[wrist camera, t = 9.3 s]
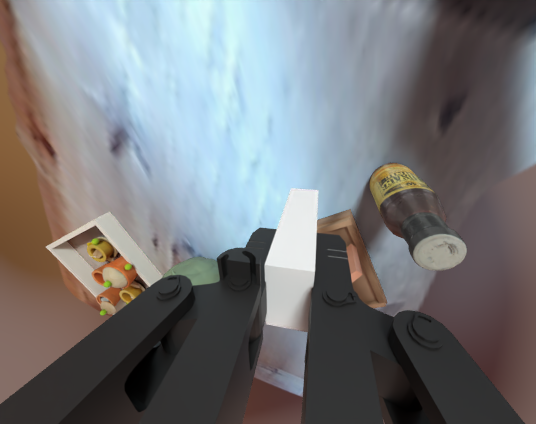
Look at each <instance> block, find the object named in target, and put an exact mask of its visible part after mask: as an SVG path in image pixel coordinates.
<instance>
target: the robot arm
mask: <svg viewBox="0 0 536 424" xmlns="http://www.w3.org/2000/svg"><path fill="white" fill-rule="evenodd" d="M317 211H318V190H310V189H294V188H291V190H290V193H289V196H288V199H287V202H286V205H285V207H284V210H283V213H282V216H281V219H280V222H279V225H278V228H277V229H268V228H259V229H257V230H256V231H255V232H253V233H252V235H251V237H250V239H249V242H248V243H247V245H246V247H245V248H234V249H230V250H227V251H225V252H223V253H222V254H221V255H220V256H219V257H218V258H217V264H218V270H219V277H220V280H219V281H218V282H216V283H211V284H203V285H193V286H192V283H191V280H190V279H189V278H188V277H186V276H183V275H170V276H167V277H164V278H162V279H160V280H158V281H157V282H155V283H154V284H152V285H151V286H150V287H148V288H147V289H146V290H145V291H143V292H142V293H141V294H140V295H138V296H137V297H136V298H134V299H133V300H132V301H131V302H129V303H128V304H127V305H126V306H124V307H123V308H122V309H121V310H119V311H118V312H117V313H115V314H114V315H113V316H112V317H110V318H109V319H108V320H107V321H105V322H104V323H103V324H102V325H100V326H99V327H98V328H96V329H95V330H94V331H93V332H91V333H90V334H89V335H88V336H86V337H85V338H84V339H83V340H81V341H80V342H79V343H77V344H76V345H75V346H74V347H72V348H71V349H70V350H69V351H67V352H66V353H65V354H63V355H62V356H61V357H60V358H58V359H57V360H56V361H55V362H53V363H52V364H51V365H50V366H48V367H47V368H46V369H44V370H43V371H42V372H41V373H39V374H38V375H37V376H36V377H34V378H33V379H32V380H30V381H29V382H28V383H27V384H25V385H24V386H23V387H22V388H20V389H19V390H18V391H17V392H15V393H14V394H13V395H11V396H10V397H9V398H8V399H6V400H5V401H4V402H3V403H1V404H0V424H242V422H243V418H244V414H245V410H246V405H247V401H248V398H249V393H250V390H251V385H252V381H253V377H254V373H255V369H256V365H257V361H258V357H259V353H260V349H261V345H262V340H263V326H264V322H265V318H266V324H268V325H273V326H278V327H283V328H288V329H294V330H299V331H304V332H308V333H307V345H306V354H305V372H304V387H303V402H302V417H301V424H384V423H383V420H384V422H385V424H525V423H524V422H523V421H522V420H521V418H520V417H519V416H518V414H517V413H516V412H515V411H514V409H513V408H512V407H511V406H510V405H509V403H508V402H507V401H506V400H505V398H504V397H503V396H502V395H501V393H500V392H499V391H498V390H497V389H496V387H495V386H494V385H493V384H492V382H491V381H490V380H489V379H488V377H487V376H486V375H485V374H484V373H483V371H482V370H481V369H480V368H479V366H478V365H477V364H476V363H475V362H474V360H473V359H472V358H471V356H470V355H469V354H468V353H467V352H466V350H465V349H464V348H463V347H462V345H461V344H460V343H459V342H458V340H457V339H456V338H455V337H454V336H453V334H452V333H451V332H450V331H449V330H448V329H447V328H445V326H444V325H443V324H442V323H440V322H438V321H437V320H435V319H434V318H432V317H431V316H428V315H426V314H423V313H421V312H417V311H409V310H407V311H402V312H399V313H398V314H397V315H396V316H395V317H392V316H389V315H387V314H384V313H382V312H380V311H377V310H375V309H373V308H371V307H369V306H368V305H367V304H365V303H364V302H363V301H362V300H361V299H360V298H359V296H358V294H357V293H356V292H355V291H354V289H353V285H352V279H351V273H350V267H349V261H348V255H347V249H346V243H345V241H344V240H343V239H342V238H341V237H340V235H333V234H324V233H317Z"/></svg>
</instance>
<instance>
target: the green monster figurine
mask: <svg viewBox="0 0 536 424" xmlns="http://www.w3.org/2000/svg"><path fill="white" fill-rule="evenodd" d="M170 275H183V276H186V277H188V278H189V279H190V280H191V283H192V286H193V285H203V284H211V283H216V282H218V281H219V280H220V277H219V270H218V264H217V261H215V260H213V259H208V258H205V257H194V258H190V259H188V260H186V261H184V262H181V263H179V264H177V265H175V266H174V267H172V268H171V269H170V270H168V271H167V272H166V273H165V274H164V276H163V277H162V278H164V277H167V276H170ZM162 278H161V279H162Z"/></svg>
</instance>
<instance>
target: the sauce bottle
mask: <svg viewBox="0 0 536 424" xmlns="http://www.w3.org/2000/svg"><path fill="white" fill-rule="evenodd" d="M370 190H371V193H372V195H373V197H374V200H375V202H376V204H377V207H378V209H379V212H380V214H381V216H382V218H383V219H384V222H385V224H386V226H387V227H388V229H389V230H390V231H391V232H392V233H393V234H394V235H396V236H398V237H401V238H404V239H405V241H407V243H408V245H409V252H410V255H411V256H412V258H413V259H414V261H415V262H416V263H417V264H418V265H419V266H421V267H422V268H425V269H428V270H447V269H450V268H453V267H454V266H456V265H457V264H459V263H461V262H462V261H463V259H464V258H465V256H466V253H467V247H466V244H465V242H464V241H463V240H462V238H461V237H460V236H459V235H458V234H457V233H456V232H455V231H454V230H452V229H449V227H448V226H447V225H446V224H445V221H446V215H445V213H444V210H443V208H442V206H441V203H440V201H439V198H438V196H437V195H436V193H435V192H434V191H433V190H432V189H431V188H429V187H428V186H427V185H426V184H425V183H424V182H423V181H422V180H421V179H420V178H419V177H418V176H417V175H416V174H414V173H413V172H412V171H411V170H410V169H409V168H408V167H406V166H404V165H401V164H397V163H388V164H385V165H382V166H380V167H379V168H377V169H376V170H375V171H374V173H373V174H372V176H371V179H370Z"/></svg>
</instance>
